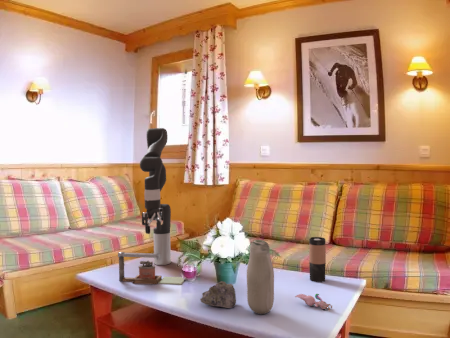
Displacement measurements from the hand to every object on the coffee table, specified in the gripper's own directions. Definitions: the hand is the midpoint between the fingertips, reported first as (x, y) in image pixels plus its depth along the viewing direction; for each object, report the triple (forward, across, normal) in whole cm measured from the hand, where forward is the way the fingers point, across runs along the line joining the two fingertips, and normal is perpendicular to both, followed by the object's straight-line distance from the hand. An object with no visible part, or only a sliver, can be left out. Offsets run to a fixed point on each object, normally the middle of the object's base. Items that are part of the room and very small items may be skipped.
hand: (153, 231), depth 197 cm
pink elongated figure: (+23, +1, +78) cm, 82 cm away
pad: (+24, -2, +9) cm, 25 cm away
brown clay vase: (+23, +15, +62) cm, 68 cm away
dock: (+24, +5, -6) cm, 25 cm away
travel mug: (+24, -33, +72) cm, 82 cm away
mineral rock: (+23, +16, +44) cm, 52 cm away
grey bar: (+13, +5, -6) cm, 15 cm away
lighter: (+24, +4, -2) cm, 24 cm away
